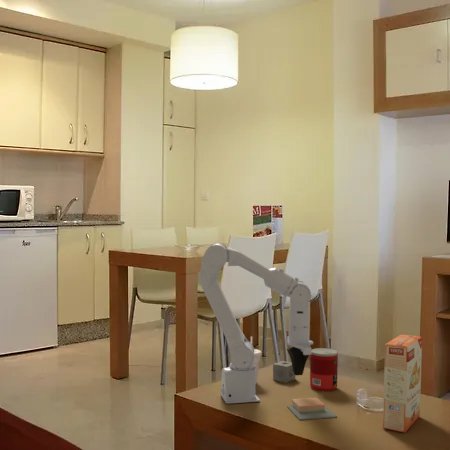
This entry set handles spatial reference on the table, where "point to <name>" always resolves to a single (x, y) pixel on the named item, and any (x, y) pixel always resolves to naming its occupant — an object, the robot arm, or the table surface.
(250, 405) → the table surface
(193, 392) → the table surface
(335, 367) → the canned food
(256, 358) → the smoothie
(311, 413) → the mat
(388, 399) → the cracker box
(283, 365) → the dice cube
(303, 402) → the tile
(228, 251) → the robot arm
